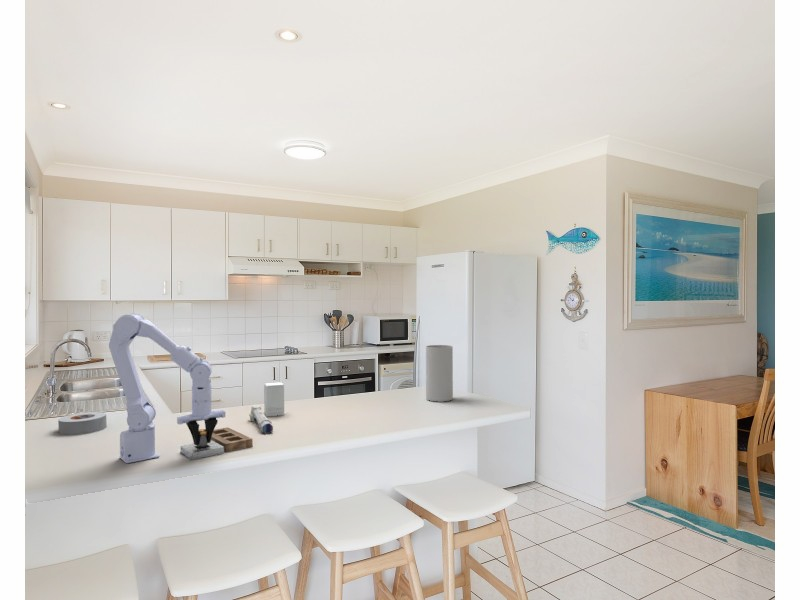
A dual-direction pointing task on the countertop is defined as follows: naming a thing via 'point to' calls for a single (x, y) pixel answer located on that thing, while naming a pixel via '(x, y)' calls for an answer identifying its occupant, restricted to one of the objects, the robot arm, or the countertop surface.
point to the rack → (231, 439)
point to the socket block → (202, 450)
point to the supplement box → (274, 399)
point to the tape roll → (82, 423)
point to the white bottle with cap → (260, 419)
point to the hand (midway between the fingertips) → (202, 443)
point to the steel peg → (202, 439)
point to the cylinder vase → (439, 373)
